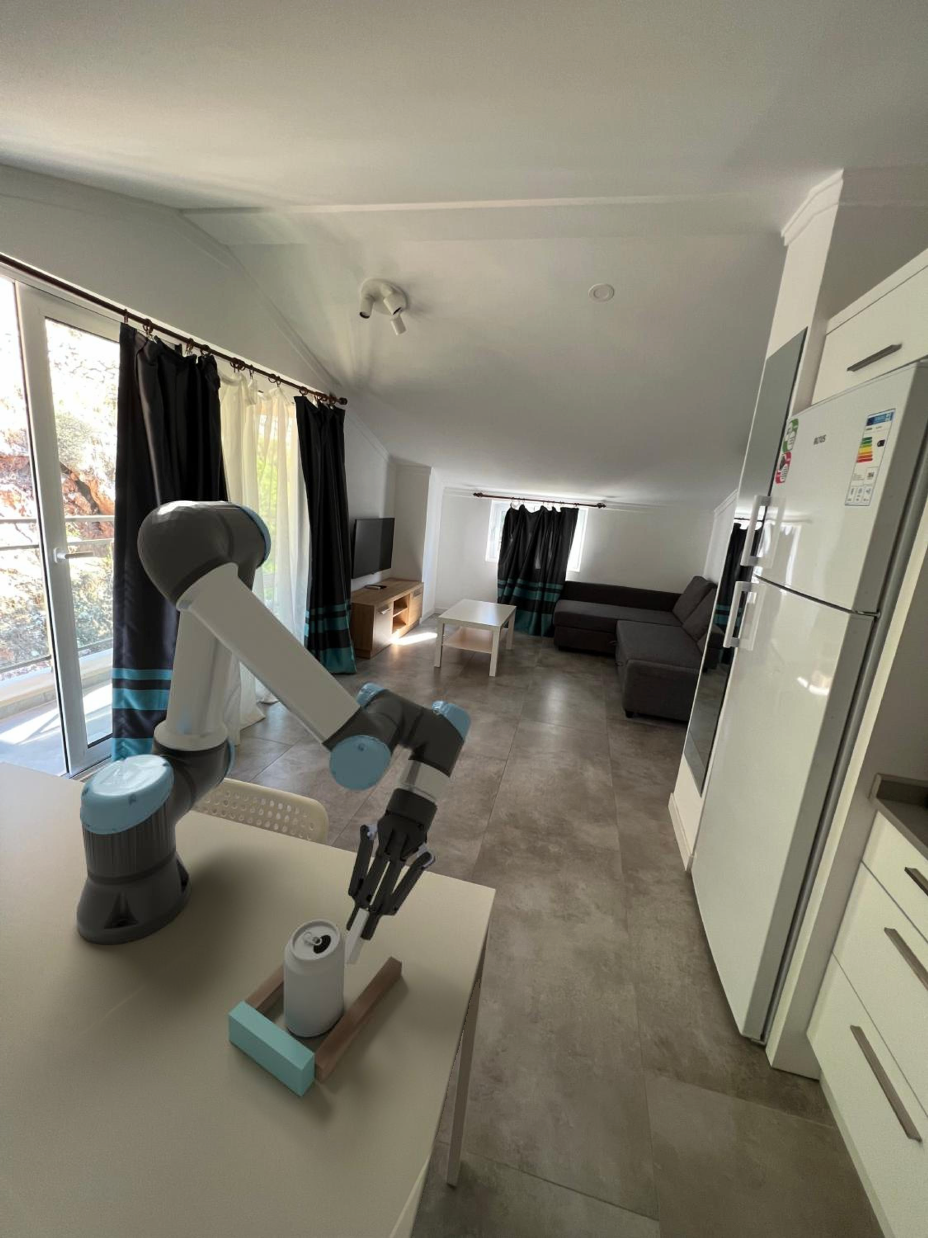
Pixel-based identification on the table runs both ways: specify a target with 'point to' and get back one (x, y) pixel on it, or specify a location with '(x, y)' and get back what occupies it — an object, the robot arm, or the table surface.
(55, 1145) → the table surface
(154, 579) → the robot arm
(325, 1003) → the can
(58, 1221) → the table surface
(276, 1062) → the bar
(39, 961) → the table surface
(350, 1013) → the chute
